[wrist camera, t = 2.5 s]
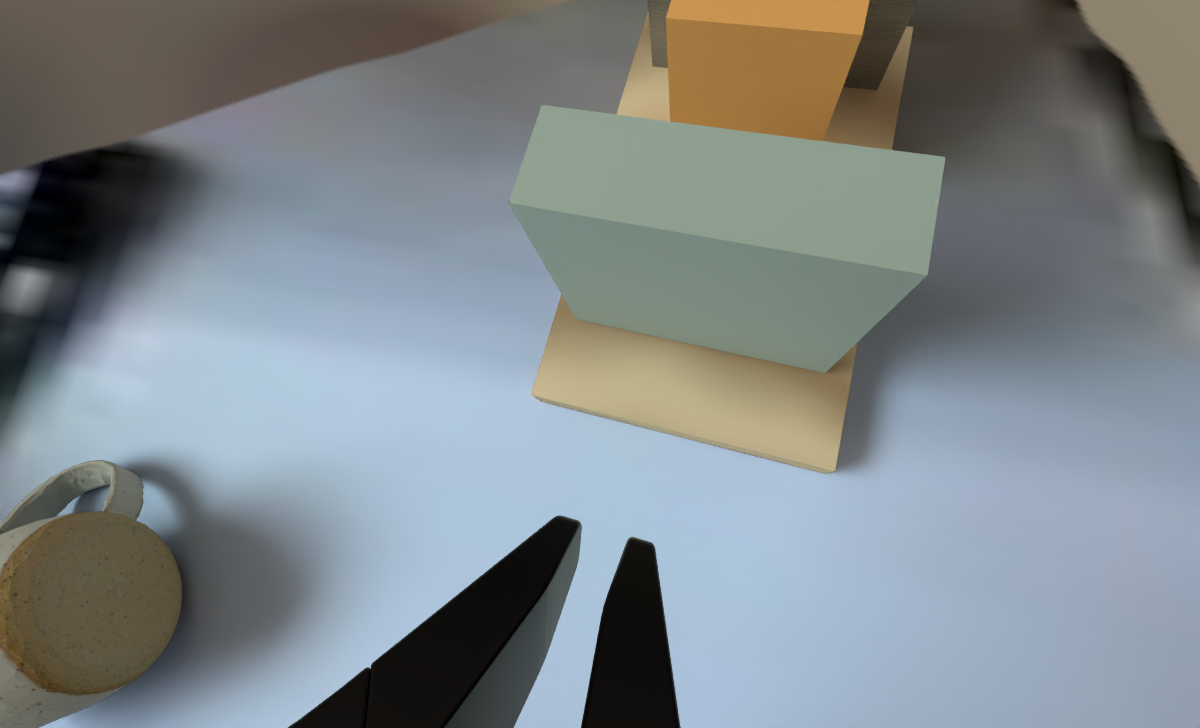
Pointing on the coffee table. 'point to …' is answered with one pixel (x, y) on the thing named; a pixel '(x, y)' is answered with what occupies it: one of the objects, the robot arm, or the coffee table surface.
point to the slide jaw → (726, 231)
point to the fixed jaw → (873, 56)
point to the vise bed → (703, 375)
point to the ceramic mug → (80, 596)
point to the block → (761, 62)
